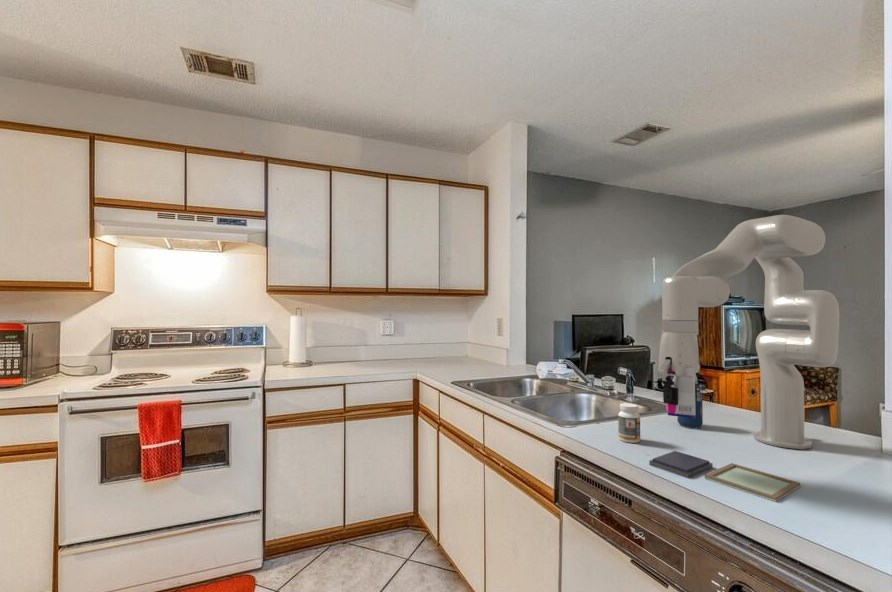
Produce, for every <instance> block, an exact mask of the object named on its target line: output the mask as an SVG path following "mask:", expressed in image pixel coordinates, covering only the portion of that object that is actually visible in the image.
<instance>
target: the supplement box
mask: <svg viewBox="0 0 892 592" xmlns="http://www.w3.org/2000/svg"><path fill="white" fill-rule="evenodd" d="M668 373H671V374H675V372H673V371H672V368H671V367H670V369H669V370H668ZM670 378H671V377H670ZM671 380H672V381H673V378H671ZM676 388H678V405H671V404H666V403H665V404H666V405H665V407H666V414H667V416H671V417H677V416H680V417H689V418H695V368H693V367H687V368H686V371H685V376H682V377H679V379H678V382H677V385H676Z"/></svg>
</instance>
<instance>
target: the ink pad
mask: <svg viewBox="0 0 892 592" xmlns="http://www.w3.org/2000/svg"><path fill="white" fill-rule="evenodd" d="M648 463H649V466H651V467H655V468H658V469H660V470H664V471H667V472H669V473H673V474H676V475H678V476H681V477H684V478H687V479H689V478H691V477H695V476H696V475H698V474H701V473H704V472H706V471H708V470H711V469H713V462H710V460H708V459H703V458H701V457H697V456H693V455H690V454H686V453H683V452H680V451H677V450H674V451H670V452H669V453H666V454H662V455H660V456H655V457H654V458H652V459H650V460H649V461H648Z"/></svg>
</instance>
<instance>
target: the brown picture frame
mask: <svg viewBox="0 0 892 592" xmlns="http://www.w3.org/2000/svg"><path fill="white" fill-rule="evenodd" d="M704 479H705V480H708V481H712V482H715V483H718V484H721V485H722V486H723V485H724V486H727V487H730V488H733V489H736V490H739V491H742V492H744V493H747V494H751V495H754V496H756V497H760V498H763V499H766V500H770V501H772V502H778V501H779V500H781V499H783V498H784V497H785V496H787V495H790V494H791V493H793V492H794V491H795V490H797V489H798V488H801V486H802V485H801V483H802V482H798V481H796V480H792V479H790V478H789V479H788V478H785V477H781V476H778V475H774V474H772V473H768V472H765V471H760V470H759V469H758V470H757V469H754V468H751V467H746V466H743V465H740V464H737V463H733V462H731V463H729V464H726V465H725V466H722V467H720V468H718V469H715V470H713V471H711V472H709V473H706V474H704Z"/></svg>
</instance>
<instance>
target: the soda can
mask: <svg viewBox="0 0 892 592" xmlns="http://www.w3.org/2000/svg"><path fill="white" fill-rule="evenodd" d="M703 415H704V414H703V393H702V391H701V388H699V387H697V400H696V401H695V418H689V417H680V416H676V417H677V418H676V419H677V420H676V421H677V423H678V424H679V426H680V427H683V428H686V429H692V428H693V429H694V428H698V429H700V428H701V427H702V426H703V423H704V421H703V418H704V417H703ZM694 430H695V429H694Z"/></svg>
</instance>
